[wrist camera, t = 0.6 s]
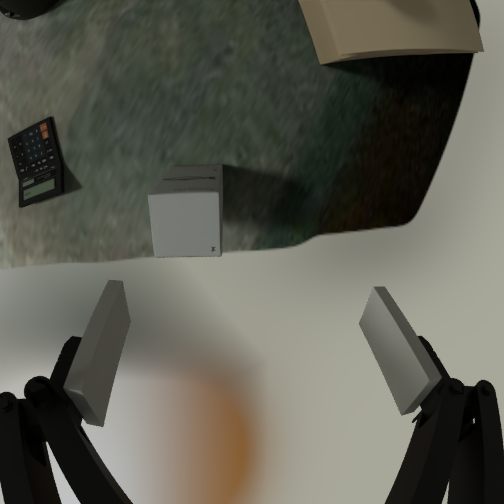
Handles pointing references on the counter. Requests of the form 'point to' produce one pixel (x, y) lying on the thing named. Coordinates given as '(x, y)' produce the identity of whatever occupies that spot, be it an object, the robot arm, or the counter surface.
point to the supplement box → (187, 212)
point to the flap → (401, 25)
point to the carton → (327, 46)
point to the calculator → (37, 163)
